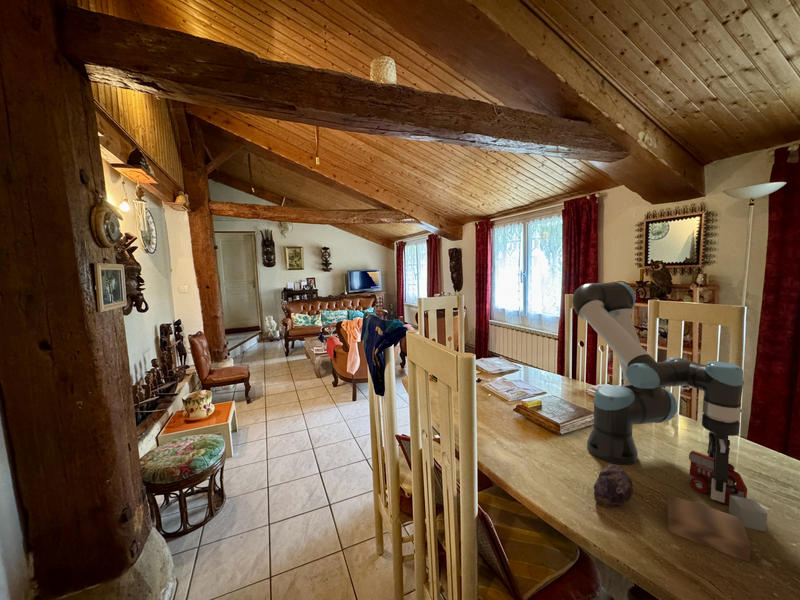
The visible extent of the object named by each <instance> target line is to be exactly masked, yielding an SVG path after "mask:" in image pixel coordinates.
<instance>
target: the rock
mask: <svg viewBox="0 0 800 600" xmlns="http://www.w3.org/2000/svg"><path fill="white" fill-rule="evenodd" d="M633 484H634V483H633V481H632V479H631V478H630V476H629V475H628V473H627V472H626V471H625V470H623V468H621V467H620V466H618V464H615V463H612V464H611V463H610V464H608V465H607V467H605V468H603V469H602V470H601V471H600V472H599V473H598V477H597V479H596V481H595V483H594V485H593V490H594V491H593V496H594V500H595V502H596V503H598V505H600V506H602V507H606V508H611V507H614V505H619V506H623V505H624V503H625V502H627V501H629V500H630V499H631V497H632V496H633V493H634V489H633Z"/></svg>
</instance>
